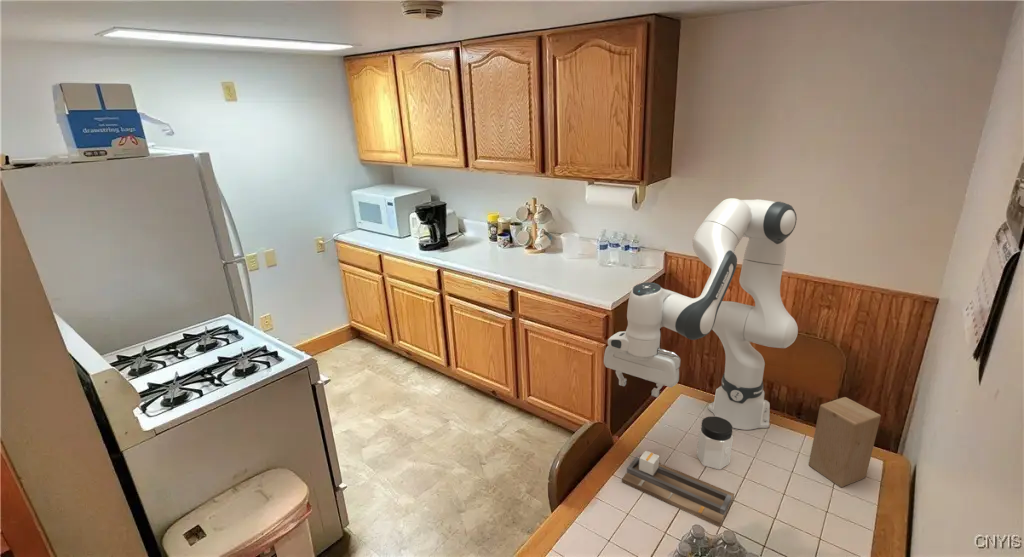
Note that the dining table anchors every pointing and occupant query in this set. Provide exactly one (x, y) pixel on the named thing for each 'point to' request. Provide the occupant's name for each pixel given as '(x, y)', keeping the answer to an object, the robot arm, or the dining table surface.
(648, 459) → the fader knob
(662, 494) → the slider track
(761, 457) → the dining table surface
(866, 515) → the dining table surface
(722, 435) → the jar
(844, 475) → the wooden block
